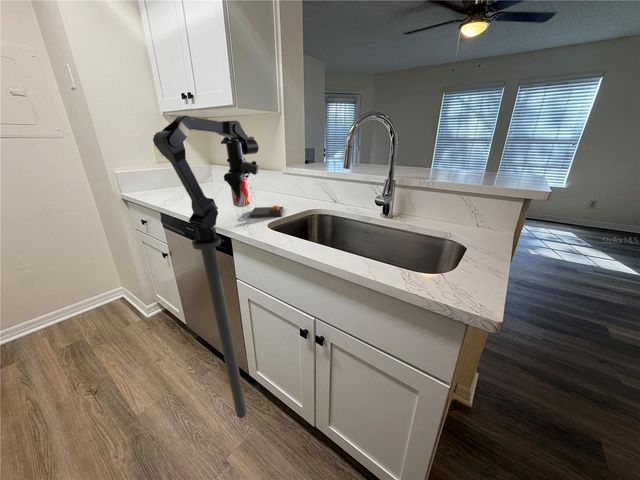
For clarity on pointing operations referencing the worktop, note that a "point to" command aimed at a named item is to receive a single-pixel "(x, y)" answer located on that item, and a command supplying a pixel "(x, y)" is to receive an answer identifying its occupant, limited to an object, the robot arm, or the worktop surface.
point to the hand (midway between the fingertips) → (241, 194)
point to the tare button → (275, 207)
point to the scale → (266, 212)
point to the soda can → (242, 194)
